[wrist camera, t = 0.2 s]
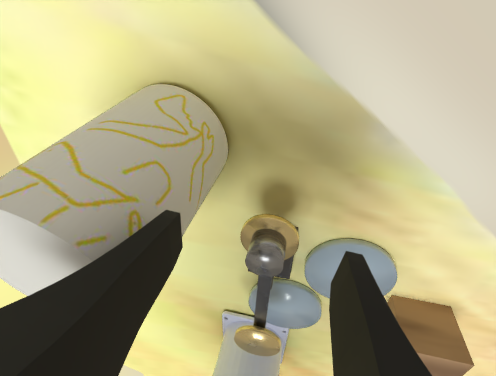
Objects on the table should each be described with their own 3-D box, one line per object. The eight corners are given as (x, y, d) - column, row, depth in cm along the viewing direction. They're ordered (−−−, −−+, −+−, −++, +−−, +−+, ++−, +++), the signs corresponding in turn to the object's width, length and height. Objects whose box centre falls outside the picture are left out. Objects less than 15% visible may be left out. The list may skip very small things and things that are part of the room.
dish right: (379, 302, 27) (381, 309, 26) (300, 286, 28) (299, 292, 27) (408, 247, 22) (411, 255, 22) (312, 231, 23) (312, 238, 23)
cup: (250, 142, 19) (164, 303, 10) (193, 198, 24) (103, 338, 15) (151, 56, 17) (-62, 161, 8) (112, 136, 22) (-46, 255, 13)
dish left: (314, 327, 32) (314, 334, 31) (249, 313, 33) (247, 319, 32) (327, 287, 27) (327, 294, 26) (251, 272, 28) (249, 279, 28)
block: (427, 333, 28) (445, 390, 24) (375, 322, 29) (384, 375, 25) (450, 305, 25) (474, 365, 21) (391, 294, 26) (404, 349, 22)
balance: (285, 298, 29) (277, 361, 24) (248, 290, 30) (233, 350, 25) (305, 186, 21) (300, 248, 16) (253, 178, 22) (232, 236, 17)
